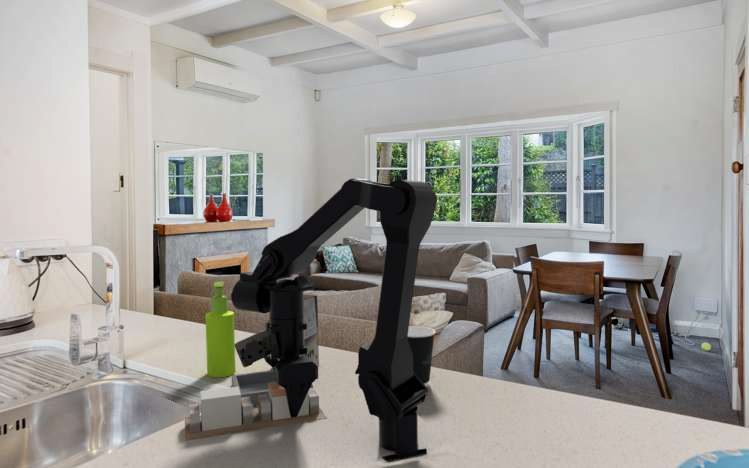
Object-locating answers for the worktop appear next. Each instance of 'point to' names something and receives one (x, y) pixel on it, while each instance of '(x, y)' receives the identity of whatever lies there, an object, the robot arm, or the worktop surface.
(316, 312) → the coffee box
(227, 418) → the block
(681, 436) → the worktop surface
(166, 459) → the worktop surface
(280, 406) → the block
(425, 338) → the dixie cup
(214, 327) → the soap dispenser
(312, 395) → the board
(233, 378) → the tray
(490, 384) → the worktop surface
